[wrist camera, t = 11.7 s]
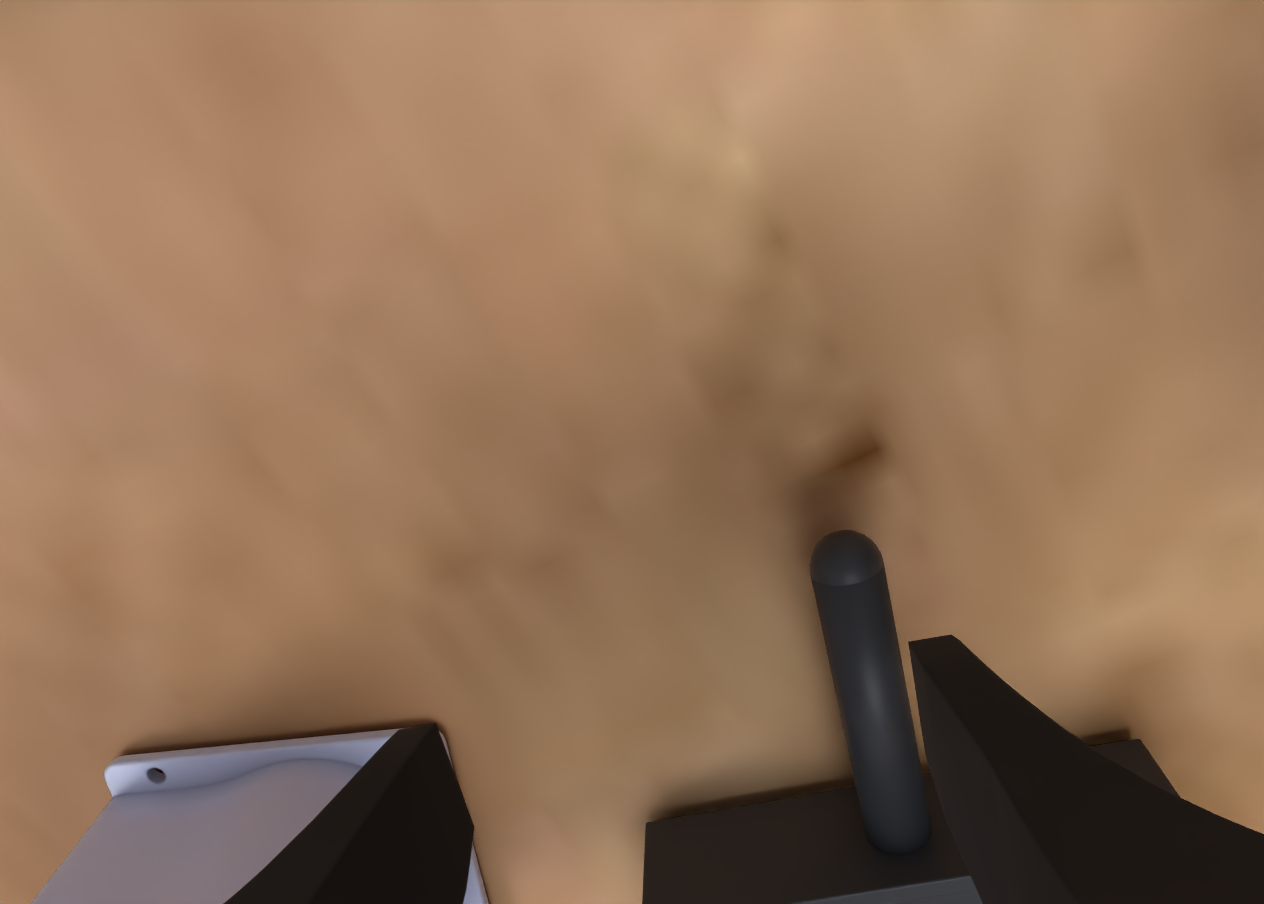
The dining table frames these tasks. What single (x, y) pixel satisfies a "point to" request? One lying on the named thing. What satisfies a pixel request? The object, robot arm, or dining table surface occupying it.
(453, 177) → the dining table surface
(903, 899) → the scoop pan
